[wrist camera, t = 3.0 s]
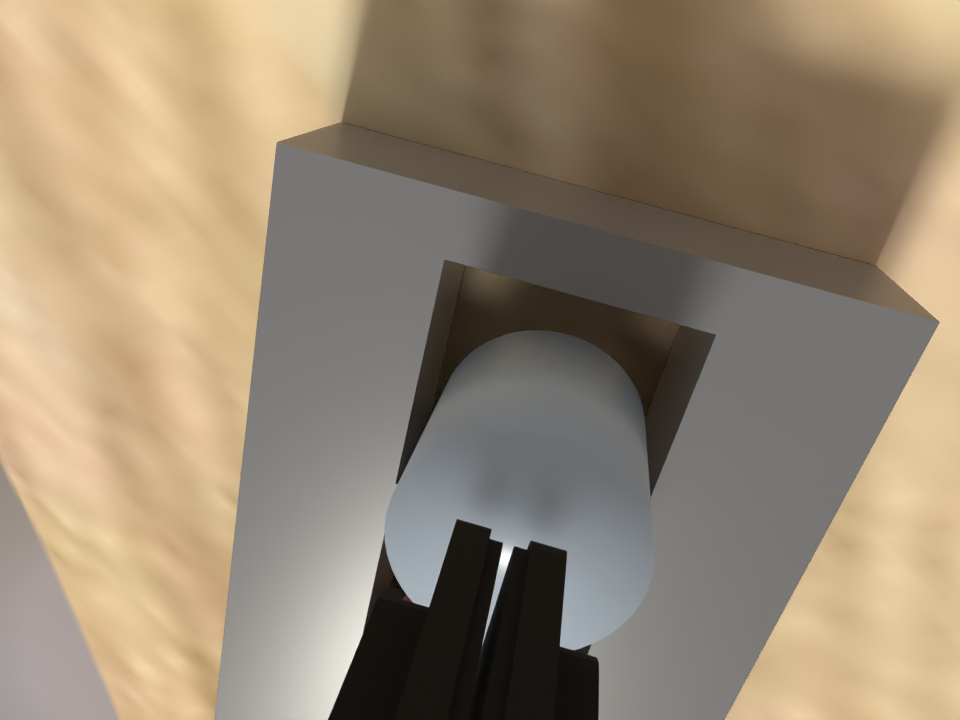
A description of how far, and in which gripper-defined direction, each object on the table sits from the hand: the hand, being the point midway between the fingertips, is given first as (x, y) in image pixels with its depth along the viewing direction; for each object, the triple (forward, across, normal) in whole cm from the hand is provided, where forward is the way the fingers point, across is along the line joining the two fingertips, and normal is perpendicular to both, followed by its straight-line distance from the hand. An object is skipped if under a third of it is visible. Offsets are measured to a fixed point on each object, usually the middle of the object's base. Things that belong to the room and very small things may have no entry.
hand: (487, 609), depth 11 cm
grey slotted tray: (+11, 0, +7) cm, 13 cm away
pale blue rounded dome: (+6, 0, 0) cm, 6 cm away
